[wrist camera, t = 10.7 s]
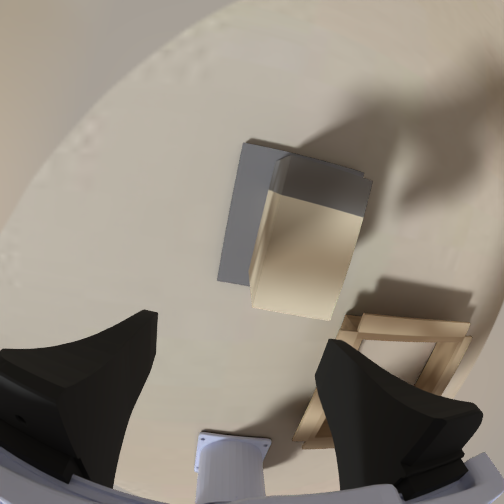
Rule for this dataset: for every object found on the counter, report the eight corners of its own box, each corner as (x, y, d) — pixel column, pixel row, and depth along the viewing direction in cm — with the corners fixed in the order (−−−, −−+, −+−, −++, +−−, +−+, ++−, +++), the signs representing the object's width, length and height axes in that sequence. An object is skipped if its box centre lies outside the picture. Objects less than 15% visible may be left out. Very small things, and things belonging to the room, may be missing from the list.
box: (306, 283, 21) (329, 320, 15) (248, 271, 21) (252, 307, 15) (335, 178, 19) (372, 181, 13) (275, 161, 19) (291, 155, 13)
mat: (330, 296, 22) (331, 299, 22) (217, 278, 21) (217, 280, 21) (361, 172, 20) (363, 172, 19) (243, 143, 19) (243, 142, 18)
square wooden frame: (402, 422, 28) (411, 437, 25) (284, 428, 26) (288, 449, 23) (462, 312, 24) (478, 323, 21) (334, 296, 22) (347, 312, 19)
